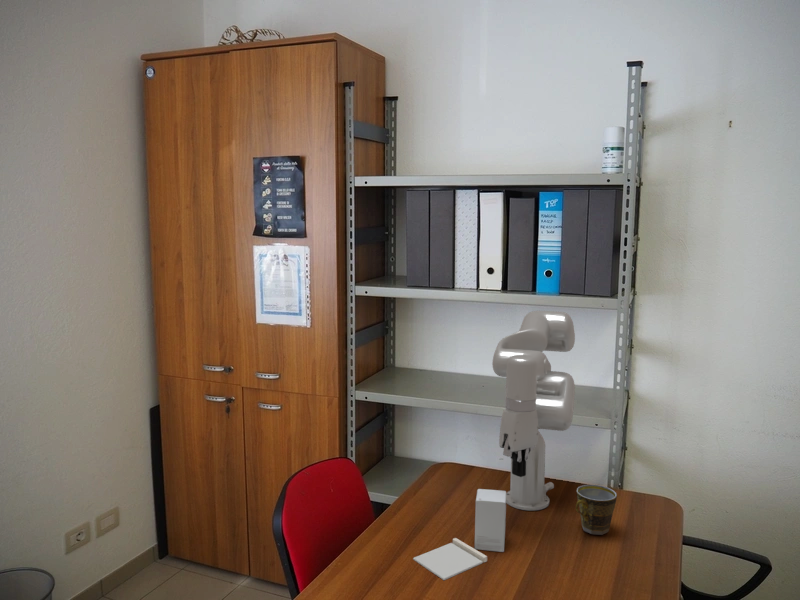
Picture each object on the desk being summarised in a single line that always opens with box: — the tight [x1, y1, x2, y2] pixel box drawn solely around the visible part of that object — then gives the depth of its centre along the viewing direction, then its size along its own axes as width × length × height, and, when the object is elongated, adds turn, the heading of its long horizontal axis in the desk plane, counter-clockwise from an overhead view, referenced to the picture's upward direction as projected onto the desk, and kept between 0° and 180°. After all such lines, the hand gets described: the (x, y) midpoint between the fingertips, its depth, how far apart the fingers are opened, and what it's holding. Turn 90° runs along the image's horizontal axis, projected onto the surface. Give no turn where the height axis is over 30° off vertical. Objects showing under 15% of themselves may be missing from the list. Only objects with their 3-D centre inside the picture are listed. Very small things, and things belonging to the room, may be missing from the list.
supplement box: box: [474, 488, 507, 553], centre depth 155 cm, size 7×7×13 cm
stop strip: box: [452, 537, 488, 563], centre depth 151 cm, size 1×11×1 cm, turn 37°
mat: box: [412, 542, 484, 581], centre depth 147 cm, size 12×11×1 cm
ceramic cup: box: [575, 484, 618, 536], centre depth 162 cm, size 13×10×10 cm
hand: (518, 474), depth 159 cm, fingers closed
